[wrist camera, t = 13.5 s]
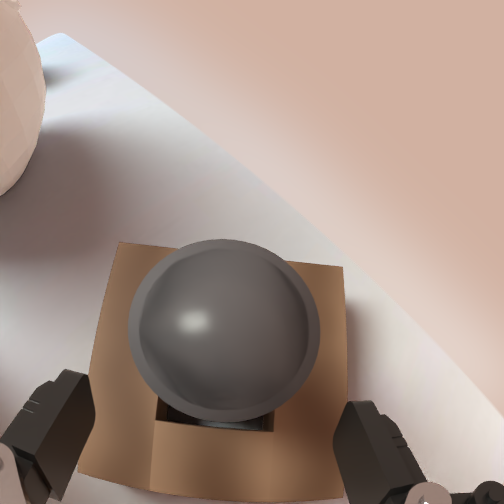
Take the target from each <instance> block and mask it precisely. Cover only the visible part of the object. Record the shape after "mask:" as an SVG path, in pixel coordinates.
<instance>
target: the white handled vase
mask: <svg viewBox="0 0 504 504" xmlns="http://www.w3.org/2000/svg"><path fill="white" fill-rule="evenodd" d="M20 8H21V5H20V3H19V2H18V1H17V0H0V196H1V195H3V194H4V193H5V192H6V191H8V190H9V189H10V188H11V187H12V186H13V185H14V184H15V183H16V182H17V180H18V179H19V178H20V177H21V176H22V174H23V172H24V170H25V168H26V166H27V164H28V162H29V160H30V158H31V156H32V154H33V151H34V149H35V147H36V145H37V140H38V136H39V132H40V128H41V124H42V119H43V115H44V111H45V97H46V85H45V81H44V75H43V70H42V65H41V59H40V55H39V52H38V50H37V47H36V45H35V42H34V40H33V37H32V34H31V32H30V31H29V29H28V28H27V26H26V25H25V23H24V21H23V19H22V18H21V16H20V14H19V11H20Z"/></svg>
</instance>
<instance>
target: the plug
mask: <svg viewBox="0 0 504 504" xmlns="http://www.w3.org/2000/svg"><path fill="white" fill-rule="evenodd" d="M320 333H321V331H320V319H319V315H318V310H317V307H316V304H315V301H314V298H313V296H312V294H311V292H310V290H309V288H308V286H307V285H306V283H305V282H304V281H303V279H302V278H301V276H300V275H299V274H298V273H297V272H296V271H295V270H294V269H293V268H292V267H291V266H290V265H289V264H288V263H287V262H286V261H284V260H283V259H281V258H280V257H279V256H277V255H276V254H274V253H272V252H270V251H268V250H267V249H264V248H262V247H260V246H257V245H254V244H251V243H247V242H243V241H237V240H227V239H217V240H207V241H201V242H197V243H193V244H190V245H187V246H185V247H182V248H180V249H178V250H176V251H174V252H173V253H171V254H169V255H168V256H166V257H165V258H163V259H162V260H161V261H159V262H158V263H157V264H156V265H155V266H154V267H153V268H152V269H151V270H150V271H149V273H148V274H147V275H146V276H145V278H144V279H143V280H142V282H141V284H140V285H139V287H138V289H137V291H136V293H135V295H134V298H133V300H132V304H131V307H130V311H129V318H128V339H129V346H130V350H131V354H132V357H133V360H134V362H135V365H136V367H137V369H138V371H139V373H140V374H141V376H142V378H143V379H144V381H145V382H146V384H147V385H148V386H149V387H150V388H151V389H152V391H153V392H154V393H155V394H156V395H158V396H159V397H160V398H161V399H162V400H163V401H164V402H166V403H167V404H169V405H170V406H172V407H173V408H175V409H176V410H179V411H181V412H183V413H185V414H187V415H189V416H192V417H195V418H199V419H202V420H207V421H213V422H238V421H245V420H249V419H253V418H257V417H260V416H262V415H264V414H267V413H269V412H271V411H273V410H275V409H276V408H278V407H280V406H281V405H283V404H284V403H285V402H286V401H288V400H289V399H290V398H292V396H293V395H294V394H295V393H296V392H297V391H298V390H299V389H300V388H301V387H302V385H303V384H304V382H305V381H306V380H307V378H308V376H309V375H310V373H311V371H312V369H313V367H314V364H315V361H316V358H317V355H318V350H319V345H320Z"/></svg>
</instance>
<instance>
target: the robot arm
mask: <svg viewBox="0 0 504 504" xmlns="http://www.w3.org/2000/svg"><path fill="white" fill-rule="evenodd" d="M95 417H96V411H95V405H94V401H93V396H92V391H91V386H90V380H89V377H88V375H86V374H83V373H79V372H75V371H71V370H67V369H65V370H63V371H62V372H61V374H60V375H59V376H58V378H57V379H56V380H55V382H53V381H47V382H46V383H44V384H43V385H41V386H39V387H38V388H37V389H36V390H35V391H34V393H33V394H32V395H31V397H30V398H29V401H27V402H26V403H25V405H24V406H23V409H21V410H20V412H19V413H18V414H17V416H16V417H15V418H14V420H13V421H12V423H11V424H10V426H9V427H8V428H7V430H6V431H5V433H4V434H3V436H2V437H1V439H0V504H46V502H47V499H48V497H50V498H53V499H55V500H58V501H60V502H61V500H62V497H63V495H64V492H65V490H66V488H67V485H68V483H69V481H70V478H71V476H72V474H73V471H74V469H75V467H76V464H77V462H78V460H79V458H80V455H81V453H82V451H83V449H84V446H85V444H86V442H87V440H88V438H89V435H90V433H91V431H92V429H93V427H94V423H95ZM333 451H334V455H335V458H336V461H337V464H338V467H339V471H340V474H341V477H342V480H343V484H344V487H345V490H346V493H347V497H348V500H349V503H350V504H504V486H503V485H502V484H500V483H498V482H495V481H486V482H483V483H481V484H480V485H479V486H478V487H477V488H476V489H475V490H474V491H473V493H455V494H450V493H449V492H448V491H447V490H446V489H445V488H444V487H442V486H441V485H439V484H436V483H432V482H427V480H426V478H425V476H424V474H423V473H422V471H421V469H420V467H419V465H418V463H417V461H416V459H415V458H414V456H413V454H412V452H411V450H410V448H409V447H407V443H406V441H405V439H404V438H402V434H401V432H400V430H399V428H398V426H397V425H396V424H395V423H394V422H393V421H392V420H391V419H390V418H389V417H387V416H386V415H385V414H384V415H380V414H379V412H378V410H377V408H376V406H375V405H374V403H373V402H372V401H370V400H369V401H349V402H347V403H346V405H345V407H344V410H343V413H342V415H341V418H340V420H339V423H338V425H337V427H336V430H335V432H334V435H333Z"/></svg>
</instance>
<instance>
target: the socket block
mask: <svg viewBox="0 0 504 504" xmlns="http://www.w3.org/2000/svg"><path fill="white" fill-rule="evenodd" d="M176 250H178V249H176V248H167V247H158V246H149V245H140V244H132V243H123V242H119V245H118V248H117V252H116V255H115V259H114V262H113V266H112V269H111V273H110V277H109V281H108V284H107V288H106V292H105V296H104V300H103V305H102V309H101V313H100V318H99V322H98V327H97V331H96V336H95V341H94V346H93V351H92V357H91V362H90V368H89V374H88V377H89V380H90V386H91V391H92V396H93V401H94V405H95V411H96V417H95V423H94V427H93V429H92V431H91V433H90V435H89V438H88V440H87V442H86V444H85V446H84V449H83V451H82V453H81V455H80V458H79V460H78V472H79V473H82V474H85V475H88V476H92V477H95V478H99V479H102V480H106V481H109V482H113V483H117V484H121V485H125V486H130V487H134V488H139V489H144V490H149V491H154V492H159V493H165V494H171V495H178V496H185V497H193V498H201V499H211V500H224V501H241V502H296V501H314V500H326V499H336V498H343V491H344V484H343V480H342V477H341V474H340V471H339V467H338V464H337V461H336V458H335V455H334V451H333V435H334V432H335V430H336V427H337V425H338V423H339V420H340V418H341V415H342V413H343V410H344V407H345V405H346V403H347V395H348V380H347V333H346V310H345V292H344V278H343V267H339V266H330V265H320V264H311V263H302V262H293V261H286V262H287V263H288V264H289V265H290V266H291V267H292V268H293V269H294V270H295V271H296V272H297V273H298V274H299V275H300V276H301V278H302V279H303V281H304V282H305V283H306V285H307V286H308V288H309V290H310V292H311V294H312V296H313V298H314V301H315V304H316V307H317V310H318V315H319V319H320V331H321V333H320V345H319V350H318V355H317V358H316V361H315V364H314V367H313V369H312V371H311V373H310V375H309V376H308V378H307V380H306V381H305V382H304V384H303V385H302V387H301V388H300V389H299V390H298V391H297V392H296V393H295V394H294V395H293V396H292V398H290V399H289V400H288V401H286V402H285V403H284V404H283V405H281V406H280V407H278V408H276V409H275V410H273V411H271V412H269V413H267V414H264V415H263V427H262V430H251V429H235V428H223V427H213V426H204V425H195V424H187V423H180V422H173V421H167V420H166V418H167V408H168V404H167V403H166V402H164V401H163V400H162V399H161V398H160V397H159V396H158V395H156V394H155V393H154V392H153V391H152V389H151V388H150V387H149V386H148V385H147V384H146V382H145V381H144V379H143V378H142V376H141V374H140V373H139V371H138V369H137V367H136V365H135V362H134V360H133V357H132V354H131V350H130V346H129V339H128V318H129V311H130V307H131V304H132V300H133V298H134V295H135V293H136V291H137V289H138V287H139V285H140V284H141V282H142V280H143V279H144V278H145V276H146V275H147V274H148V273H149V271H150V270H151V269H152V268H153V267H154V266H155V265H156V264H157V263H158V262H159V261H161V260H162V259H163V258H165V257H166V256H168V255H169V254H171V253H173V252H174V251H176Z"/></svg>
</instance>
